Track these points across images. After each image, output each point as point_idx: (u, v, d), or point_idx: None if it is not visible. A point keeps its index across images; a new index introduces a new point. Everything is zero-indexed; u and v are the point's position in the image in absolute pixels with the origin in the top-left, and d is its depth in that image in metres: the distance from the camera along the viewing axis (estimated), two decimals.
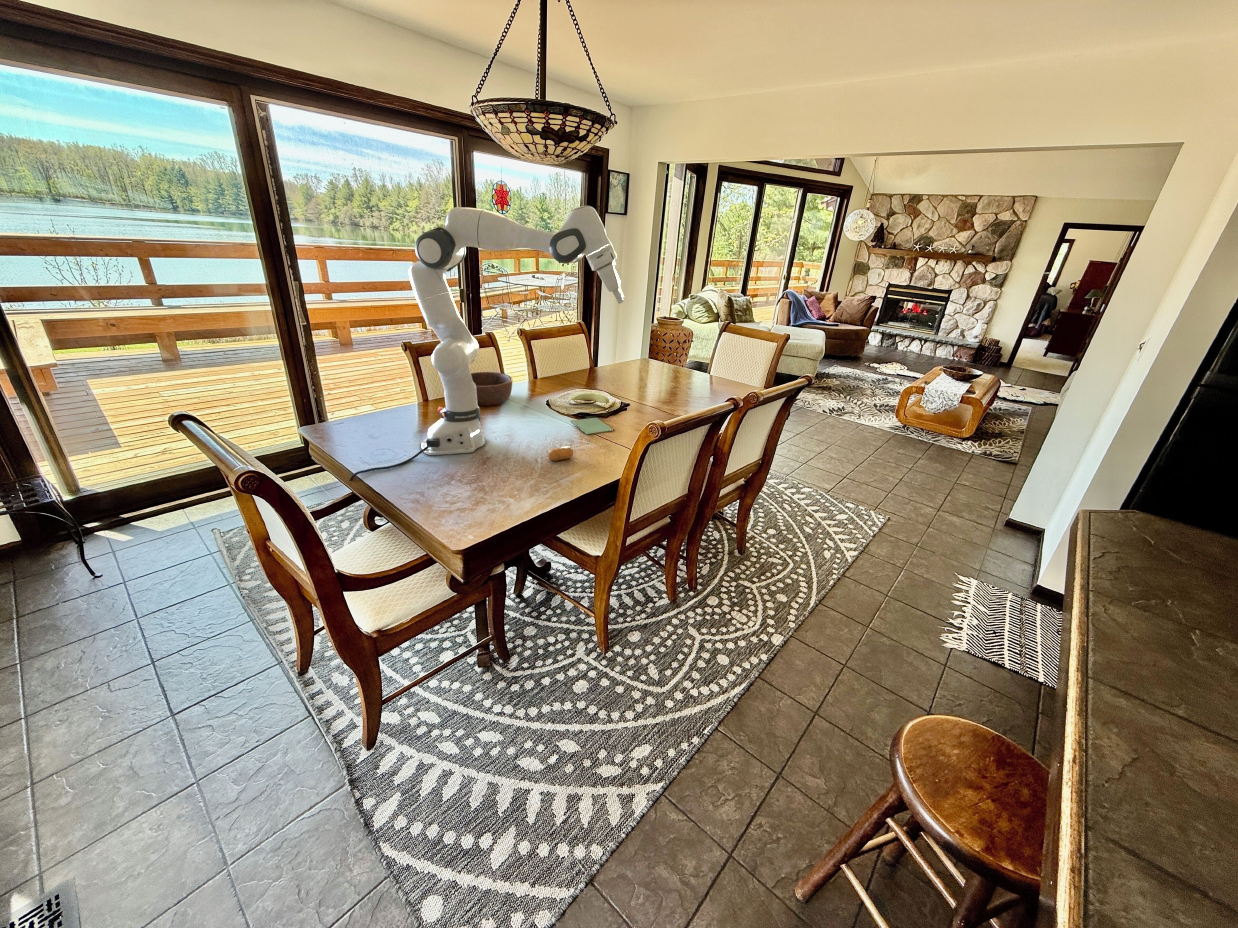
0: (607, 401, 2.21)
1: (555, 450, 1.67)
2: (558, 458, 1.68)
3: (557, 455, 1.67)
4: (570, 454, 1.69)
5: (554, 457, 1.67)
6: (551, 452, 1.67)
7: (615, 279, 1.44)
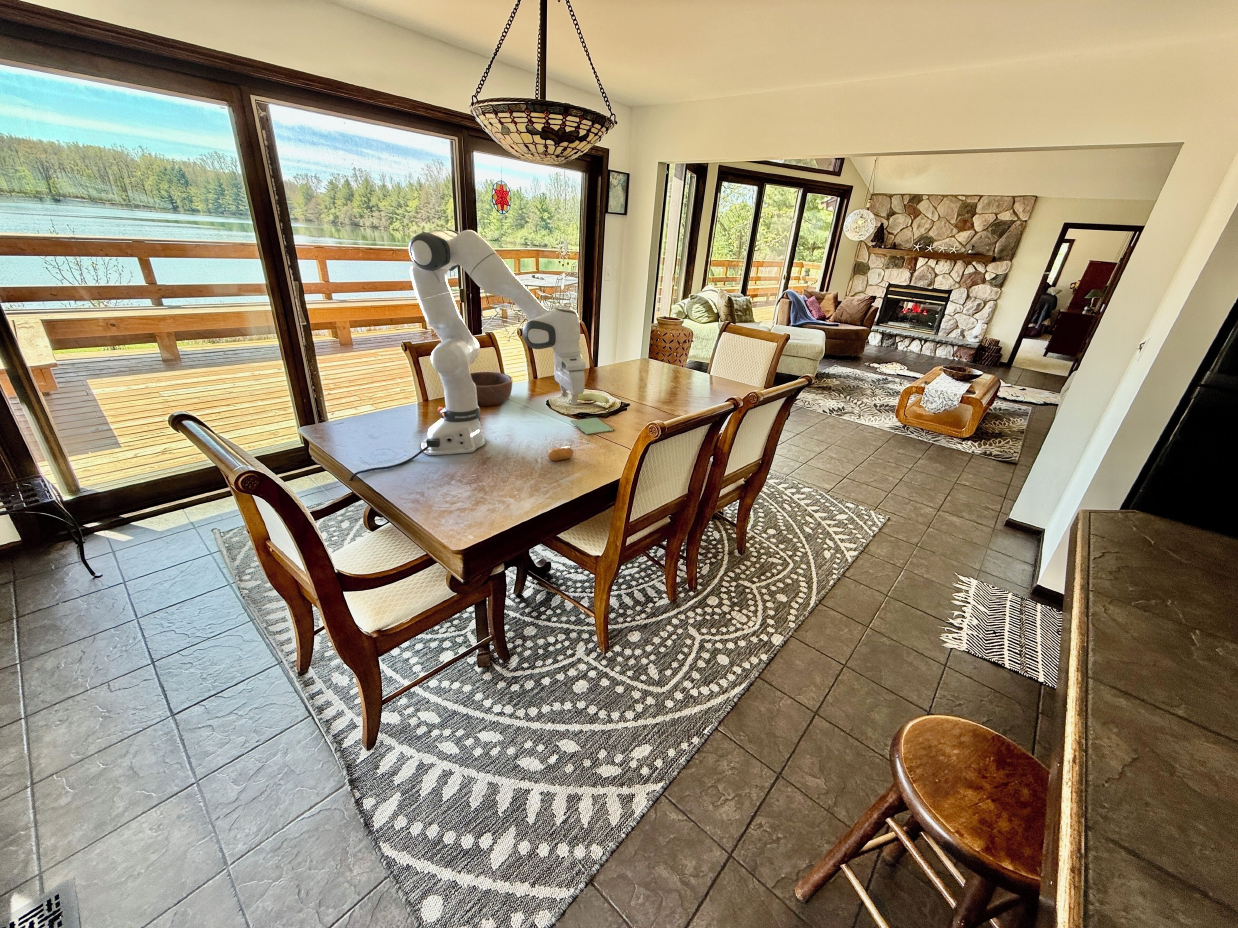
0: (607, 401, 2.21)
1: (555, 450, 1.67)
2: (558, 458, 1.68)
3: (557, 455, 1.67)
4: (570, 454, 1.69)
5: (554, 457, 1.67)
6: (551, 452, 1.67)
7: (583, 386, 1.51)
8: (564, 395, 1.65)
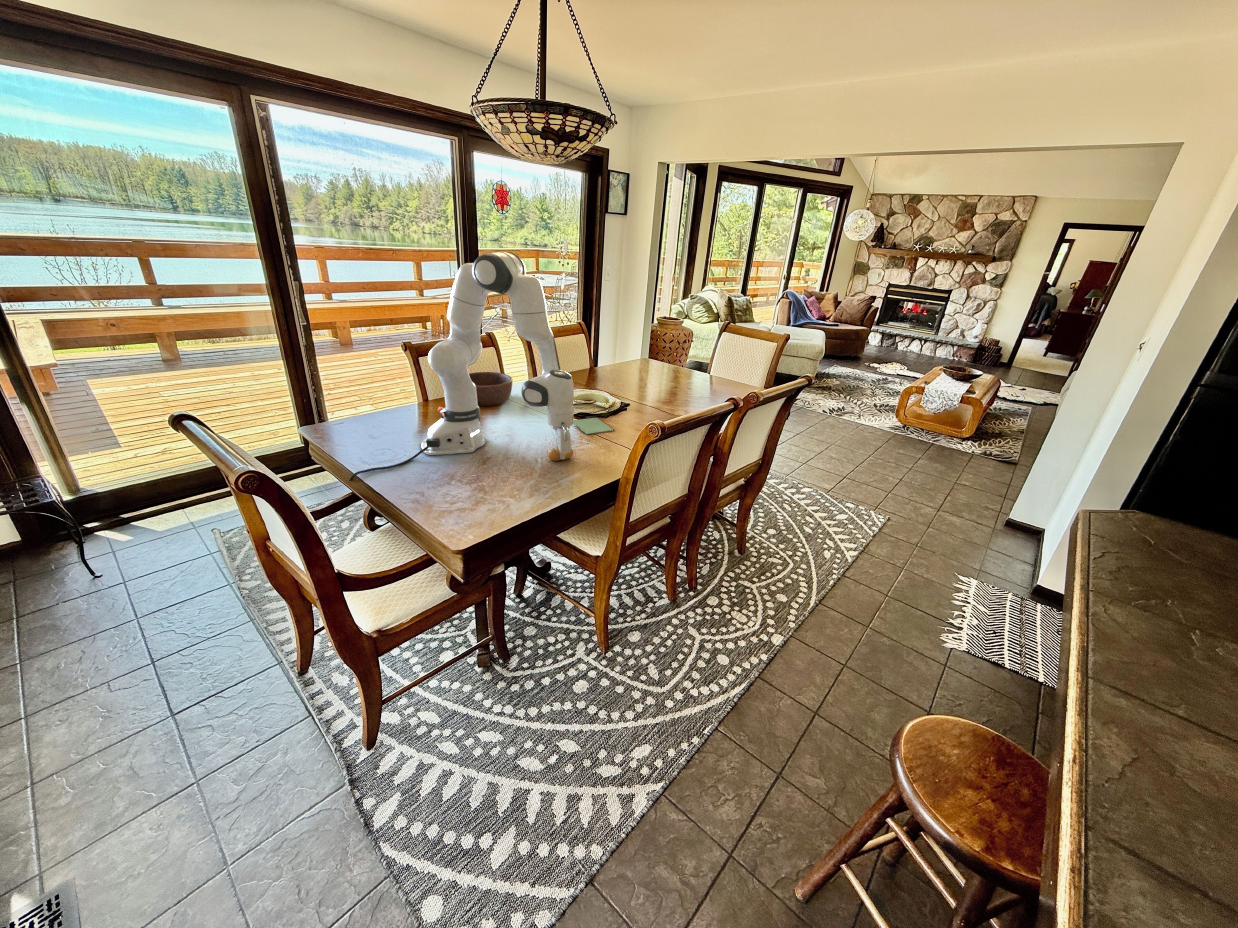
0: (607, 401, 2.21)
1: (555, 450, 1.67)
2: (558, 458, 1.68)
3: (557, 455, 1.67)
4: (570, 454, 1.69)
5: (554, 457, 1.67)
6: (551, 452, 1.67)
7: None
8: None
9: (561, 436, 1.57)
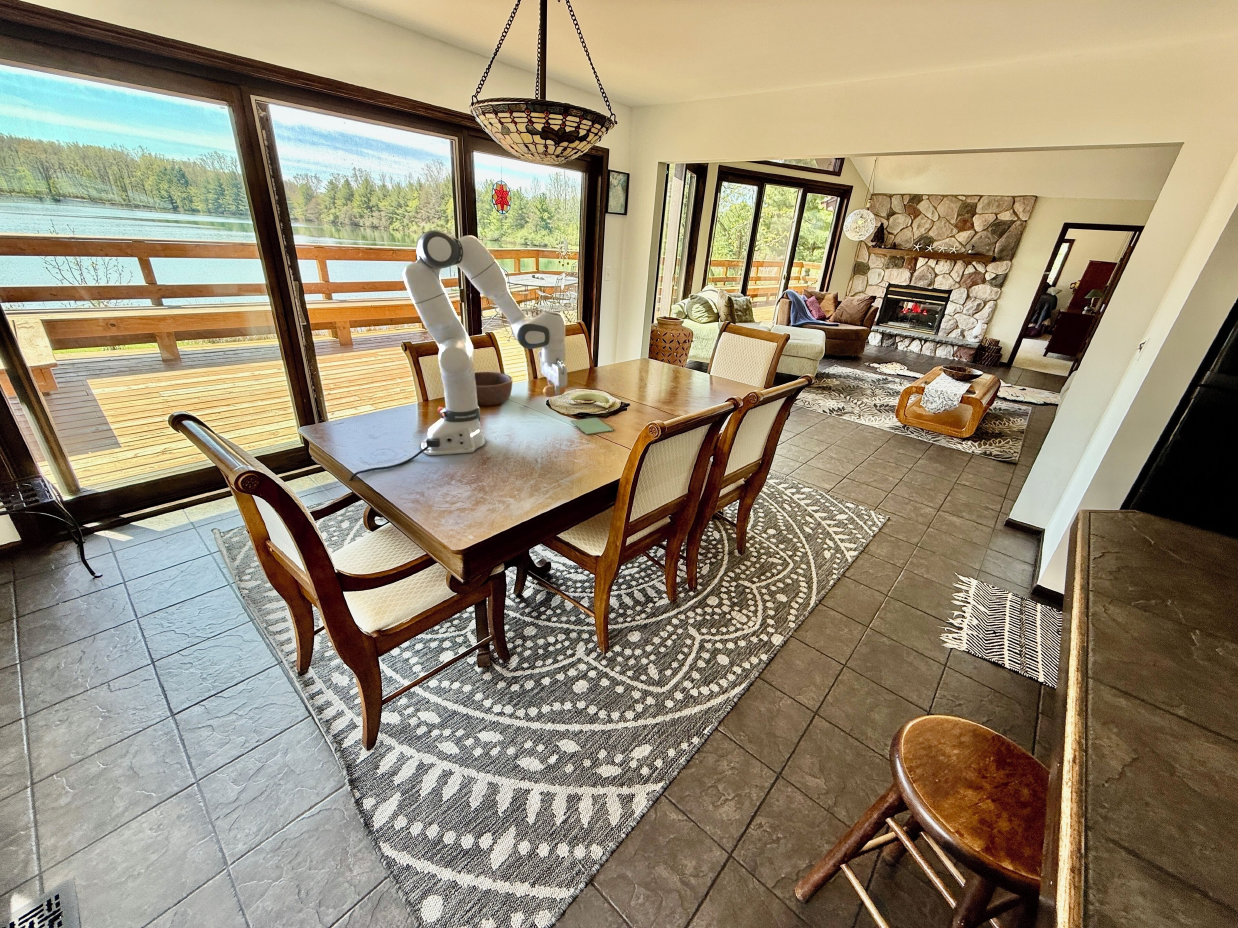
0: (607, 401, 2.21)
1: (550, 387, 1.82)
2: (553, 394, 1.83)
3: (552, 391, 1.82)
4: (563, 390, 1.85)
5: (549, 393, 1.82)
6: (546, 389, 1.82)
7: None
8: None
9: (559, 370, 1.73)
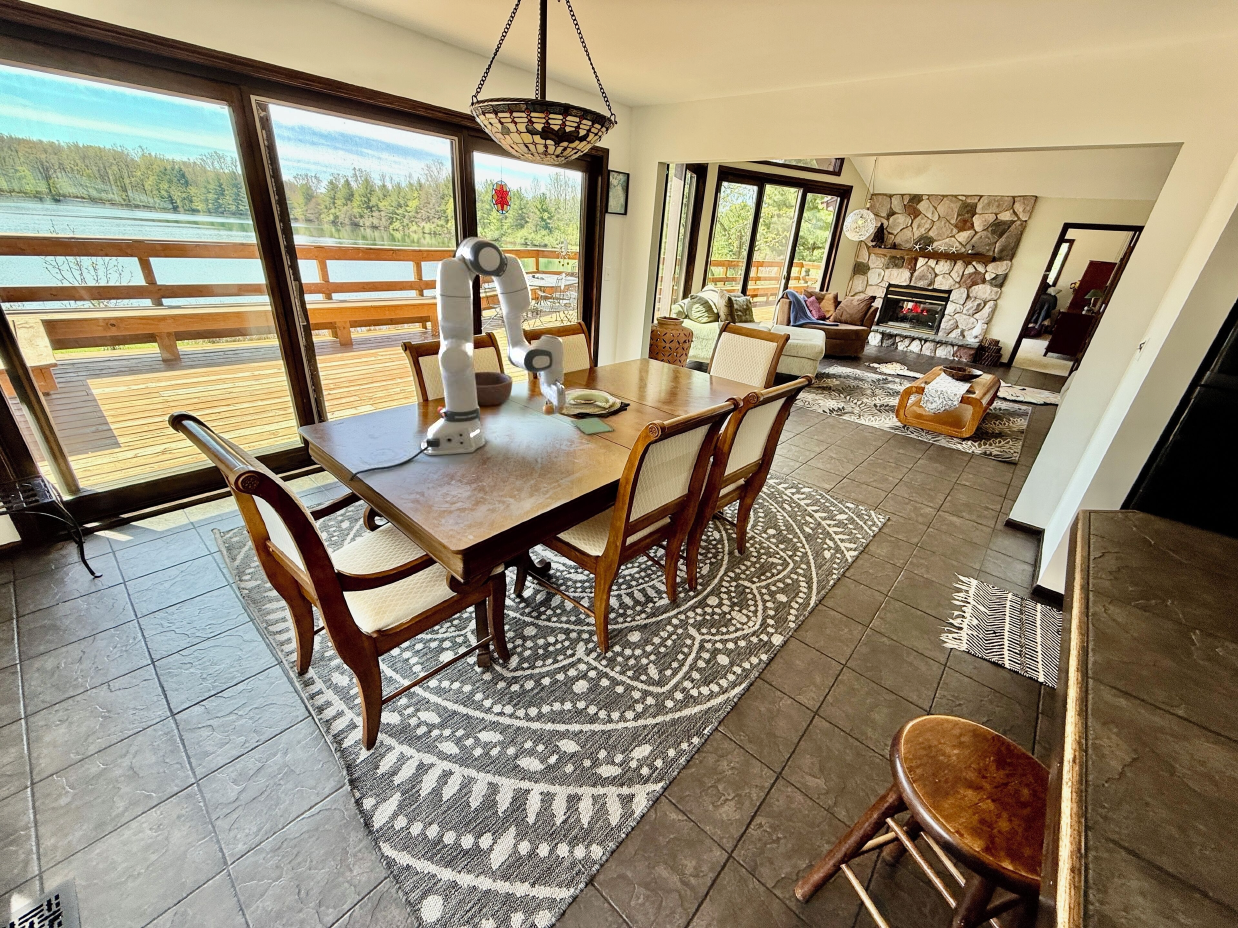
0: (607, 401, 2.21)
1: (549, 405, 1.92)
2: (552, 412, 1.93)
3: (552, 410, 1.92)
4: (562, 408, 1.95)
5: (549, 412, 1.92)
6: (546, 407, 1.91)
7: None
8: None
9: (557, 390, 1.82)
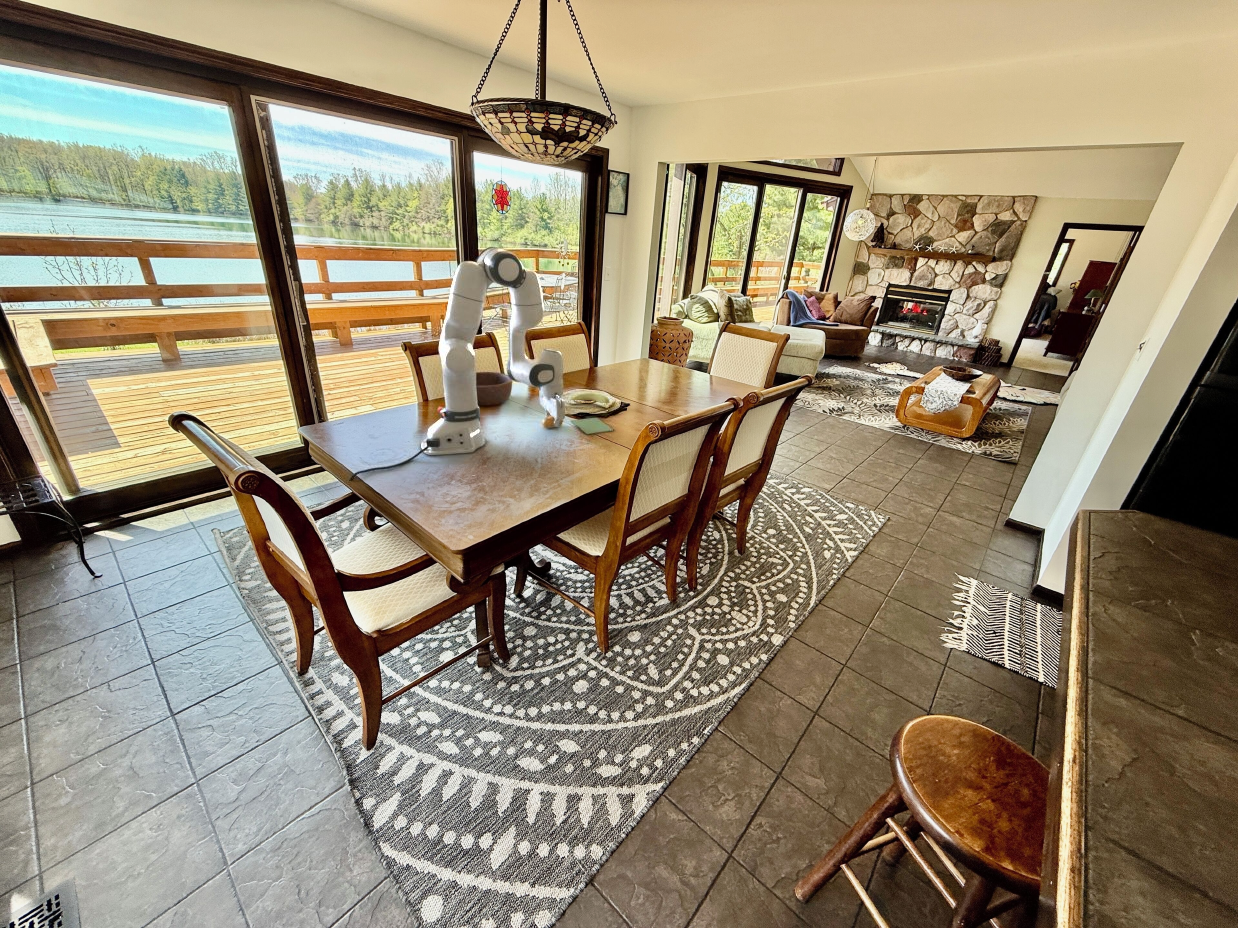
0: (607, 401, 2.21)
1: (547, 418, 1.95)
2: (551, 424, 1.95)
3: (550, 421, 1.95)
4: (560, 420, 1.98)
5: (548, 423, 1.94)
6: (544, 420, 1.95)
7: None
8: None
9: (557, 404, 1.85)
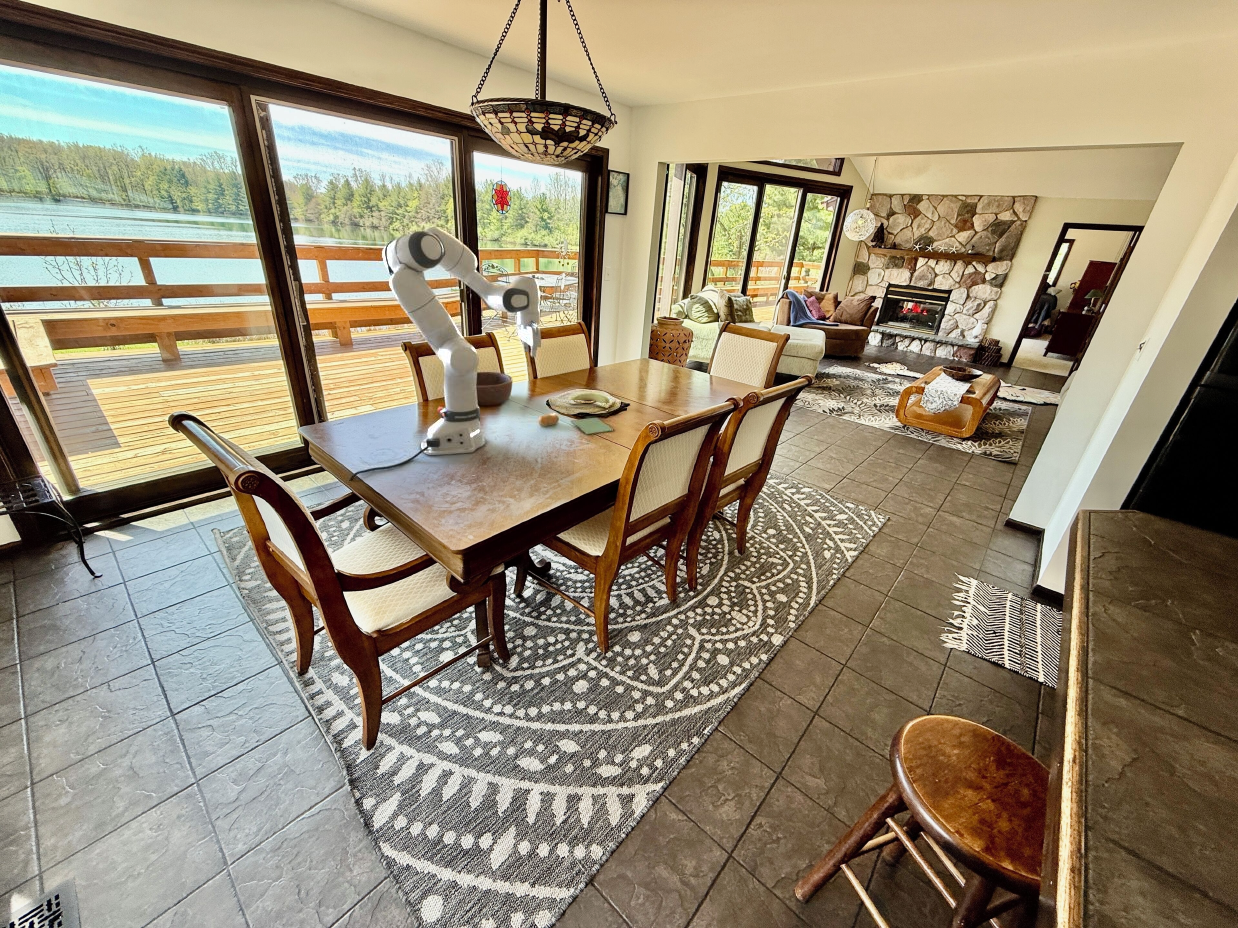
0: (607, 401, 2.21)
1: None
2: (545, 415, 1.98)
3: (543, 415, 1.98)
4: (553, 413, 2.01)
5: (541, 416, 1.97)
6: (538, 419, 1.98)
7: None
8: None
9: (532, 331, 1.85)
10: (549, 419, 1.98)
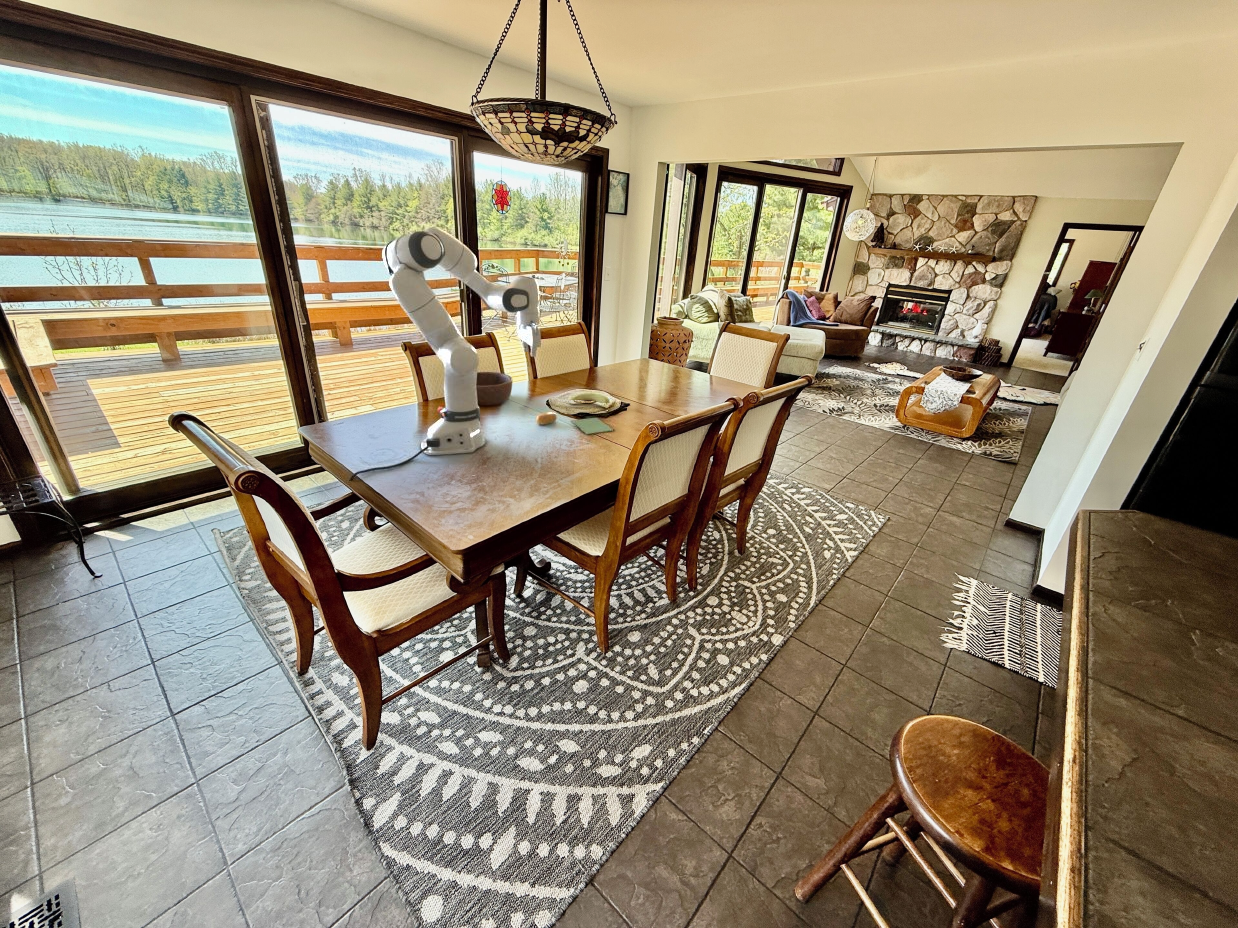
0: (607, 401, 2.21)
1: None
2: None
3: None
4: None
5: None
6: None
7: None
8: None
9: (532, 331, 1.85)
10: (545, 414, 1.99)
